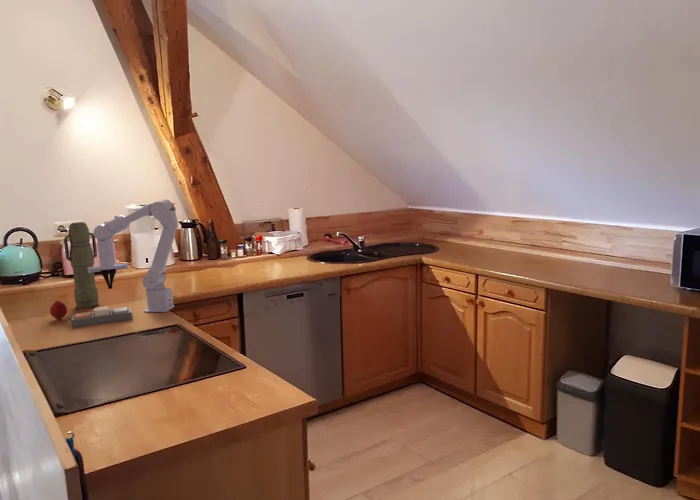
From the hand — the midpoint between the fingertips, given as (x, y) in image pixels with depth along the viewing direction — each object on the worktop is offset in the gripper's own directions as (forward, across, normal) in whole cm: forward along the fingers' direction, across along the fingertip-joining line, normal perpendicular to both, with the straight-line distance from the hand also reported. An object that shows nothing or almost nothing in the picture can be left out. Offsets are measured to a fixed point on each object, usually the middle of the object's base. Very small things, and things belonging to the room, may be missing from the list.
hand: (110, 288), depth 229 cm
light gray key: (+8, +3, -14) cm, 17 cm away
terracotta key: (+8, -10, -14) cm, 19 cm away
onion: (+10, -19, -3) cm, 21 cm away
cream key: (+7, -4, -14) cm, 16 cm away
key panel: (+9, -4, -14) cm, 17 cm away
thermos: (+10, -10, +15) cm, 20 cm away
